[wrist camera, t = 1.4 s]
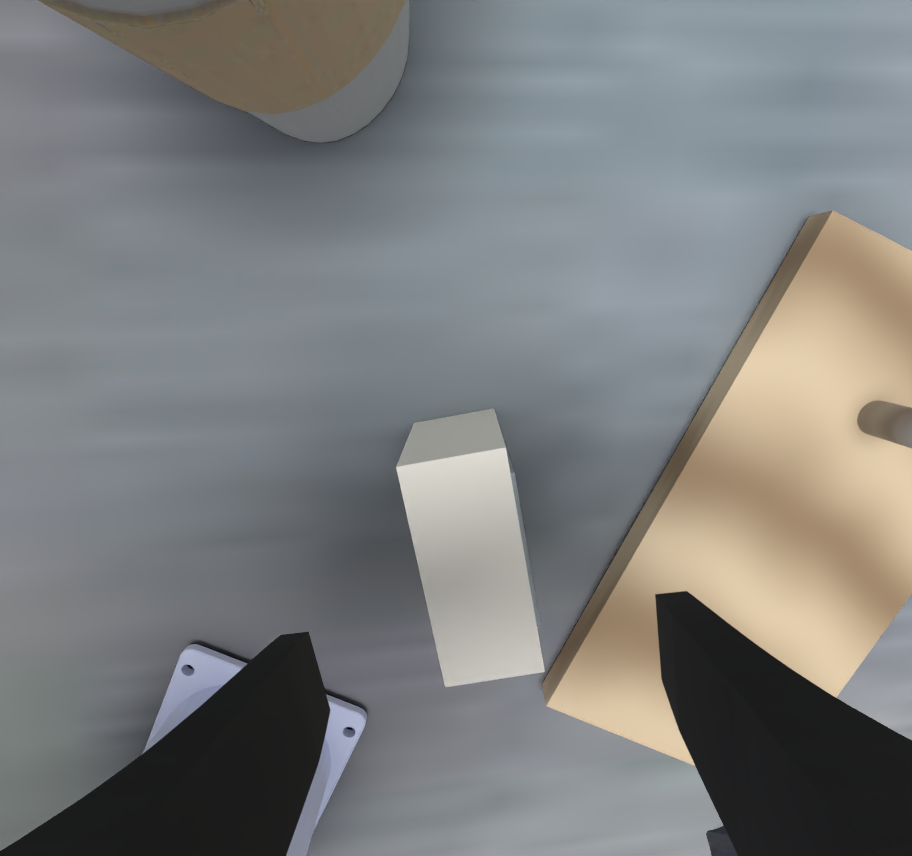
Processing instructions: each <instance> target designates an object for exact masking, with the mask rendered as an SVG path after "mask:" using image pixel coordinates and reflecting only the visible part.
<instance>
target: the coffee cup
mask: <svg viewBox="0 0 912 856" xmlns="http://www.w3.org/2000/svg"><path fill="white" fill-rule="evenodd" d="M39 1H40V2H42V3H44V4H45V5H47V6H49V7H50V8H52V9H54V10H56V11H58V12H59V13H61V14H63V15H65V16H66V17H68V18H70V19H72V20H74V21H75V22H77V23H79V24H81V25H82V26H84V27H86V28H88V29H89V30H91V31H93V32H95V33H97V34H98V35H100V36H102V37H104V38H105V39H107V40H109V41H111V42H113V43H114V44H116V45H118V46H120V47H121V48H123V49H125V50H127V51H128V52H130V53H132V54H134V55H136V56H137V57H139V58H141V59H143V60H144V61H146V62H148V63H150V64H152V65H153V66H155V67H157V68H159V69H160V70H162V71H164V72H166V73H167V74H169V75H171V76H173V77H175V78H176V79H178V80H180V81H182V82H183V83H185V84H187V85H189V86H191V87H192V88H194V89H196V90H198V91H199V92H201V93H203V94H205V95H206V96H208V97H210V98H212V99H214V100H215V101H218V102H221V103H224V104H226V105H229V106H232V107H235V108H237V109H240V110H243V111H247V112H248V113H250V114H252V115H254V116H255V117H257V118H259V119H260V120H262V121H264V122H266V123H267V124H269V125H271V126H273V127H274V128H276V129H278V130H279V131H281V132H283V133H285V134H287V135H289V136H292V137H295V138H298V139H300V140H303V141H309V142H318V143H324V142H331V141H338V140H340V139H343V138H345V137H348V136H350V135H353V134H355V133H356V132H358V131H359V130H360V129H362V128H363V127H365V126H366V125H368V124H369V123H370V122H371V121H372V120H373V119H374V118H375V117H376V116H377V115H378V114H379V113H380V112H381V111H382V110H383V109H384V107H385V106H386V105H387V103H388V102H389V100H390V99H391V98H392V96H393V95H394V93H395V91H396V89H397V87H398V85H399V82H400V80H401V78H402V76H403V72H404V68H405V65H406V61H407V58H408V46H409V17H410V0H39Z"/></svg>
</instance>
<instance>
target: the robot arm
mask: <svg viewBox="0 0 912 856" xmlns="http://www.w3.org/2000/svg"><path fill="white" fill-rule="evenodd" d="M655 599H656V612H657V626H658V639H659V652H660V666H661V679H662V682H663V685H664V688H665V691H666V694H667V697H668V700H669V703H670V706H671V709H672V712H673V715H674V718H675V720H676V723H677V726H678V729H679V732H680V734H681V736H682V738H683V740H684V742H685V745H686V747H687V749H688V751H689V753H690V755H691V757H692V760H693V762H694V764H695V766H696V768H697V770H698V772H699V774H700V777H701V779H702V781H703V783H704V785H705V787H706V789H707V791H708V793H709V796H710V798H711V800H712V802H713V804H714V806H715V808H716V810H717V812H718V814H719V817H720V819H721V821H722V823H723V825H724V827H725V829H726V831H727V833H728V836H729V838H730V840H731V842H732V844H733V846H734V848H735V850H736V852H737V855H738V856H912V740H910V739H908V738H906V737H904V736H902V735H900V734H898V733H897V732H895V731H893V730H891V729H889V728H888V727H886V726H884V725H882V724H881V723H879V722H877V721H875V720H874V719H872V718H870V717H868V716H866V715H865V714H863V713H861V712H859V711H858V710H856V709H854V708H852V707H851V706H849V705H847V704H846V703H844V702H842V701H841V700H839V699H837V698H836V697H834V696H832V695H831V694H829V693H828V692H826V691H824V690H823V689H821V688H820V687H818V686H817V685H815V684H814V683H812V682H811V681H809V680H807V679H806V678H804V677H803V676H801V675H800V674H798V673H797V672H795V671H794V670H792V669H791V668H789V667H788V666H786V665H785V664H783V663H782V662H780V661H779V660H778V659H776V658H775V657H773V656H772V655H770V654H769V653H768V652H766V651H765V650H764V649H762V648H761V647H759V646H758V645H757V644H755V643H754V642H752V641H751V640H750V639H748V638H747V637H746V636H744V635H743V634H742V633H740V632H739V631H738V630H737V629H735V628H734V627H733V626H731V625H730V624H729V623H727V622H726V621H725V620H724V619H722V618H721V617H720V616H718V615H717V614H716V613H715V612H713V611H712V610H711V609H710V608H708V607H707V606H706V605H704V604H703V603H702V602H701V601H699V600H698V599H697V598H695V597H694V596H693V595H691V594H690V593H689V592H688V591H682V592H672V593H663V594H655ZM187 665H191V666H192V667H193V668H194V669H190V668H189V667H188V666H187ZM366 720H367V714H366V712H365V711H364V710H363V709H362V708H360V707H358V706H355V705H352V704H350V703H347V702H345V701H342V700H340V699H337V698H334V697H332V696H329V695H327V694H326V692H325V689H324V685H323V682H322V678H321V675H320V671H319V668H318V664H317V661H316V657H315V653H314V650H313V646H312V643H311V639H310V636H309V632H303V633H294V634H285V635H281V636H279V637H278V638H277V639H275V640H274V641H273V642H272V643H271V644H269V645H268V646H267V647H266V648H265V649H264V650H262V651H261V652H260V653H259V654H258V655H257V656H256V657H254V658H253V659H252V660H251V661H250V662H249V663H248V664H247V663H245V662H242V661H239V660H237V659H234V658H232V657H229V656H227V655H224V654H221V653H219V652H216V651H214V650H211V649H209V648H206V647H203V646H201V645H197V644H192V645H189V646H187V647H186V648H185V649H184V651H183V652H182V653H181V655H180V657H179V660H178V663H177V665H176V668H175V671H174V673H173V676H172V679H171V681H170V684H169V686H168V689H167V692H166V694H165V697H164V700H163V702H162V705H161V708H160V710H159V713H158V716H157V718H156V721H155V723H154V726H153V729H152V731H151V734H150V737H149V739H148V742H147V745H146V747H145V750H144V751H143V753H142V754H141V756H139V757H138V758H137V759H135V760H134V761H133V762H131V763H130V764H129V765H127V766H126V767H125V768H123V769H122V770H121V771H119V772H118V773H117V774H115V775H114V776H113V777H111V778H110V779H108V780H107V781H106V782H104V783H103V784H102V785H100V786H99V787H97V788H96V789H95V790H93V791H92V792H90V793H89V794H88V795H86V796H85V797H83V798H82V799H80V800H79V801H77V802H76V803H74V804H73V805H71V806H70V807H68V808H67V809H65V810H64V811H62V812H61V813H59V814H57V815H56V816H54V817H53V818H51V819H50V820H48V821H47V822H45V823H44V824H42V825H41V826H39V827H38V828H36V829H35V830H33V831H31V832H30V833H28V834H27V835H25V836H24V837H22V838H21V839H19V840H18V841H16V842H14V843H13V844H11V845H10V846H8V847H6V848H5V849H3V850H1V851H0V856H306V855H307V852H308V848H309V845H310V841H311V838H312V834H313V831H314V829H315V827H316V825H317V823H318V821H319V819H320V817H321V815H322V813H323V811H324V809H325V807H326V805H327V803H328V801H329V799H330V797H331V795H332V793H333V791H334V789H335V787H336V784H337V782H338V780H339V778H340V776H341V774H342V772H343V770H344V768H345V766H346V764H347V762H348V760H349V758H350V756H351V754H352V752H353V750H354V748H355V746H356V744H357V742H358V740H359V738H360V735H361V733H362V731H363V729H364V727H365V724H366ZM346 727H352V728H353V729H354V730H348V729H347V728H346Z"/></svg>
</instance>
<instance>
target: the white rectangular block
mask: <svg viewBox="0 0 912 856" xmlns="http://www.w3.org/2000/svg"><path fill="white" fill-rule="evenodd" d="M396 469H397V473H398V478H399V482H400V487H401V491H402V496H403V500H404V505H405V509H406V514H407V518H408V523H409V527H410V532H411V536H412V541H413V545H414V550H415V554H416V559H417V563H418V568H419V572H420V576H421V581H422V585H423V590H424V594H425V599H426V603H427V608H428V612H429V617H430V621H431V626H432V630H433V635H434V639H435V644H436V648H437V653H438V657H439V662H440V666H441V670H442V675H443V679H444V684H445V687H451V686H457V685H464V684H470V683H477V682H483V681H489V680H496V679H502V678H509V677H515V676H522V675H528V674H535V673H541V672H545V670H544V665H543V659H542V653H541V647H540V642H539V636H538V630H537V626H541V624H540V618H539V612H538V606H537V600H536V594H535V589H534V583H533V577H532V571H531V565H530V559H529V554H528V548H527V542H526V536H525V530H524V524H523V519H522V513H521V507H520V501H519V495H518V489H517V484H516V478H515V472H514V469H513V466H512V462H511V459H510V456H509V453H508V450H507V446H506V443H505V441H504V440H503V436H502V433H501V430H500V426H499V423H498V420H497V416H496V413H495V410H494V408H493V409H488V410H482V411H477V412H471V413H466V414H460V415H455V416H449V417H444V418H438V419H433V420H427V421H422V422H416V423H414V424H413V426H412V429H411V431H410V434H409V436H408V439H407V441H406V444H405V446H404V449H403V451H402V454H401V456H400V458H399V461H398V463H397V466H396Z"/></svg>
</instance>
